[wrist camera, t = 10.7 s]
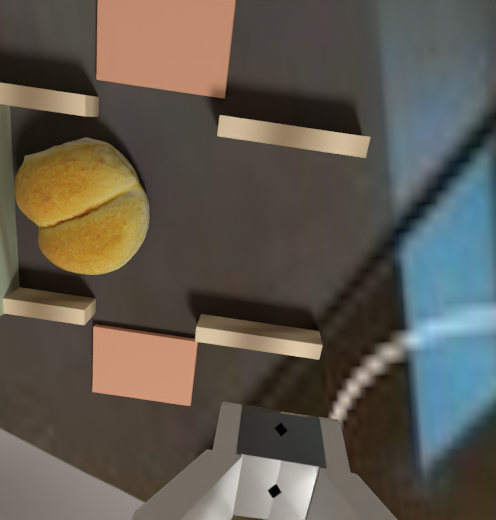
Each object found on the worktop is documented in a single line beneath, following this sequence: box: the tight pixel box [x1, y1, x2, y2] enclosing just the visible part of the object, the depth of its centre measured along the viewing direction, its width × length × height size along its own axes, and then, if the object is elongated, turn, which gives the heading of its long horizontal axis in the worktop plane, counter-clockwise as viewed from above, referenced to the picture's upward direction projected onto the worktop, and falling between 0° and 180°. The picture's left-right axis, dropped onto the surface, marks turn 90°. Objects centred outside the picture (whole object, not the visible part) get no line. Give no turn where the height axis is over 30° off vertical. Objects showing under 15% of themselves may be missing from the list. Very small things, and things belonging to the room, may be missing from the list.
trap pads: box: [93, 0, 236, 406], centre depth 28 cm, size 8×29×1 cm, turn 172°
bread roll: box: [14, 137, 149, 275], centre depth 26 cm, size 8×9×4 cm
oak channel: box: [0, 83, 370, 360], centre depth 26 cm, size 24×15×4 cm, turn 82°
